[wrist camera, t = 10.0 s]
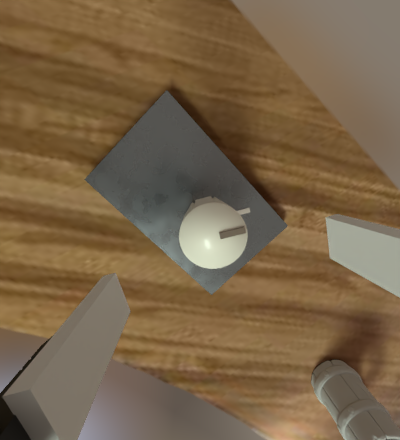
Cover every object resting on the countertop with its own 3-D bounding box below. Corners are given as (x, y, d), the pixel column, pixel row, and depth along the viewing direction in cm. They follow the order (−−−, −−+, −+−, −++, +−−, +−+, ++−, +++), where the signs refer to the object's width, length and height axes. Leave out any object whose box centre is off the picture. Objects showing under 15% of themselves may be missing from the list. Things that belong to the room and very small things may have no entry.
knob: (190, 249, 26) (188, 276, 19) (177, 202, 25) (170, 213, 18) (238, 237, 26) (254, 261, 19) (227, 189, 24) (240, 195, 17)
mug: (334, 349, 33) (416, 445, 21) (374, 386, 35) (468, 492, 23) (299, 378, 33) (359, 485, 22) (340, 412, 36) (414, 527, 24)
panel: (90, 179, 25) (63, 179, 19) (168, 95, 23) (162, 70, 18) (210, 288, 29) (215, 314, 24) (282, 223, 28) (305, 234, 22)
